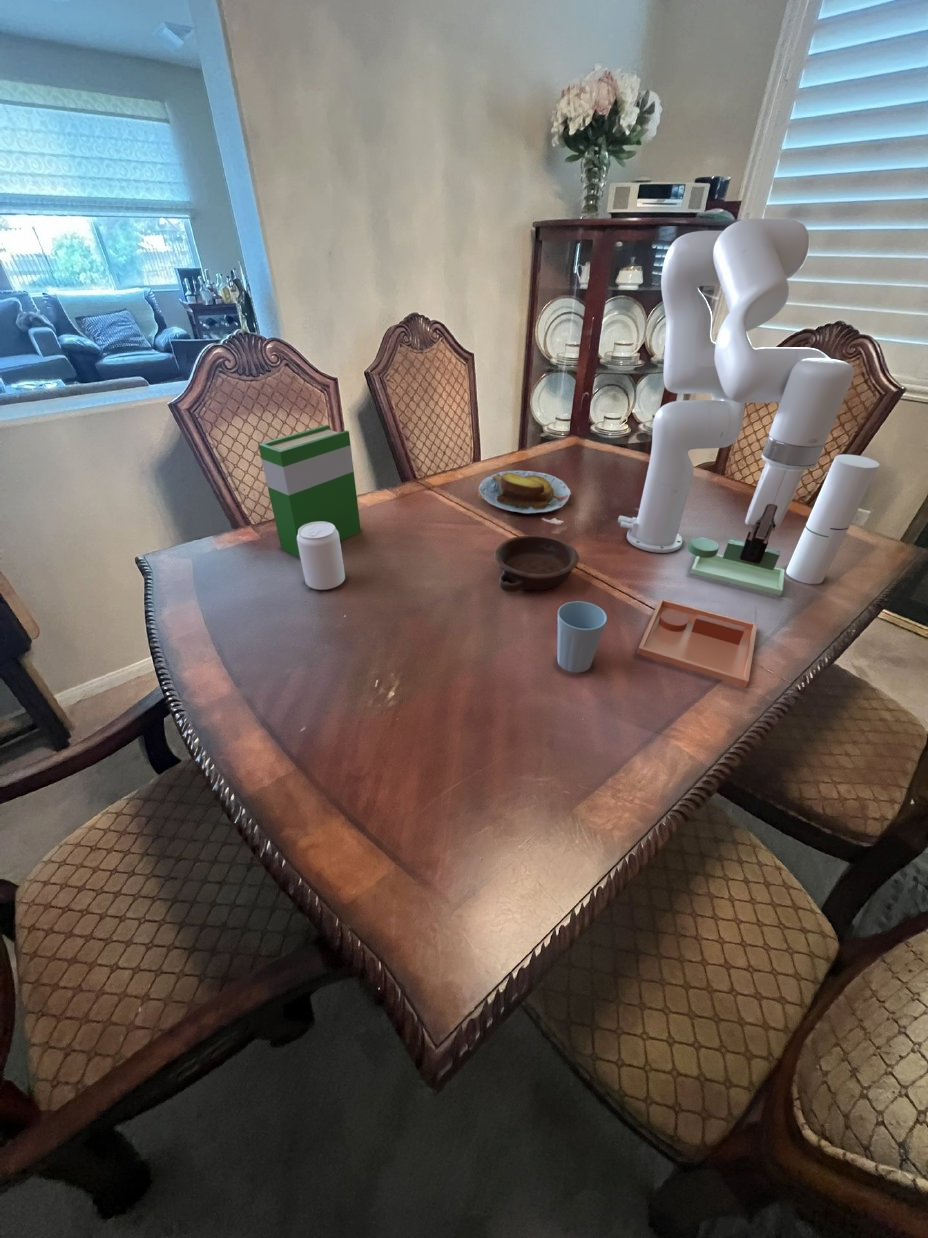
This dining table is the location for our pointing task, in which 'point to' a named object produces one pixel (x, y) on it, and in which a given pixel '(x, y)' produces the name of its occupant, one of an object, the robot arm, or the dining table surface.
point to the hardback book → (311, 483)
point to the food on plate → (524, 491)
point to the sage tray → (739, 574)
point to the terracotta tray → (700, 645)
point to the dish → (534, 562)
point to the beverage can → (321, 555)
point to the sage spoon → (731, 552)
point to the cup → (579, 634)
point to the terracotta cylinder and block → (703, 626)
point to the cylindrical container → (831, 517)
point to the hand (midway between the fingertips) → (750, 557)
